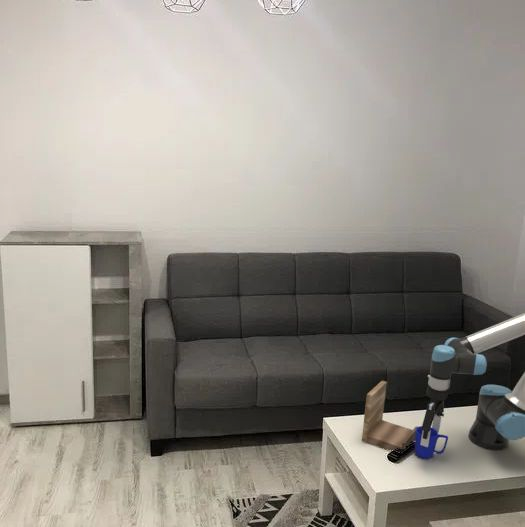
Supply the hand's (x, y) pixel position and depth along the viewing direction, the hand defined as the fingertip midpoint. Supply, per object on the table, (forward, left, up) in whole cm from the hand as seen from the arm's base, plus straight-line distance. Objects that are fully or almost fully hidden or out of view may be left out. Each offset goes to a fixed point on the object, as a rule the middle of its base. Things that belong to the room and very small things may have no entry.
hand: (429, 438), depth 232 cm
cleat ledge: (+16, -2, -7) cm, 17 cm away
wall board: (+24, -2, -7) cm, 25 cm away
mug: (0, 0, -8) cm, 8 cm away
